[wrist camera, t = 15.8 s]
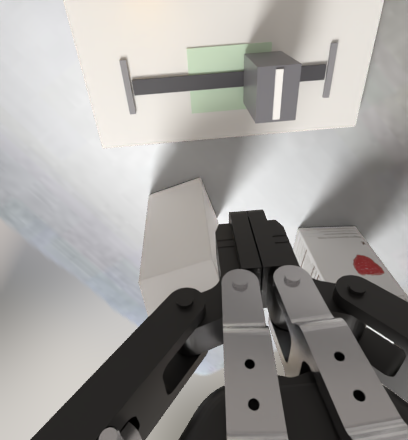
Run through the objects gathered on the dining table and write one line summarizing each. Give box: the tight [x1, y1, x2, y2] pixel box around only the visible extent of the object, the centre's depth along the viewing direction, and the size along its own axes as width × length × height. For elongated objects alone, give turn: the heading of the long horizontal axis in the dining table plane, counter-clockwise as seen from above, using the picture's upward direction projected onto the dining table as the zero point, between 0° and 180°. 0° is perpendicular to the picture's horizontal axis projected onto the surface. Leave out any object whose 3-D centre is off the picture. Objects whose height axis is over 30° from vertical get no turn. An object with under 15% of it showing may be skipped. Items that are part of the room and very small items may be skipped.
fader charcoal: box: [243, 51, 302, 123], centre depth 29 cm, size 4×4×6 cm
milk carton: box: [138, 178, 219, 317], centre depth 35 cm, size 7×7×19 cm
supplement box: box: [293, 226, 408, 343], centre depth 43 cm, size 9×9×15 cm
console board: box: [63, 0, 384, 148], centre depth 29 cm, size 28×22×2 cm
